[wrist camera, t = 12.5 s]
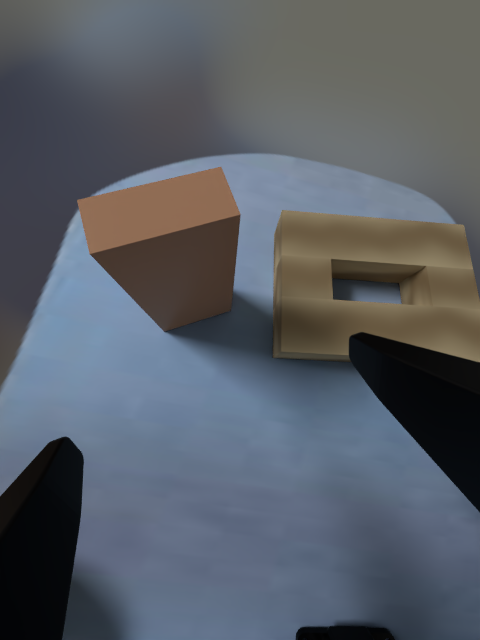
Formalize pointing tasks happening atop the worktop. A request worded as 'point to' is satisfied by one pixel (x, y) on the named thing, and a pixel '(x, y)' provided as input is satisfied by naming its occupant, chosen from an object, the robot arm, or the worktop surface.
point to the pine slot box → (372, 265)
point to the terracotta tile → (169, 244)
